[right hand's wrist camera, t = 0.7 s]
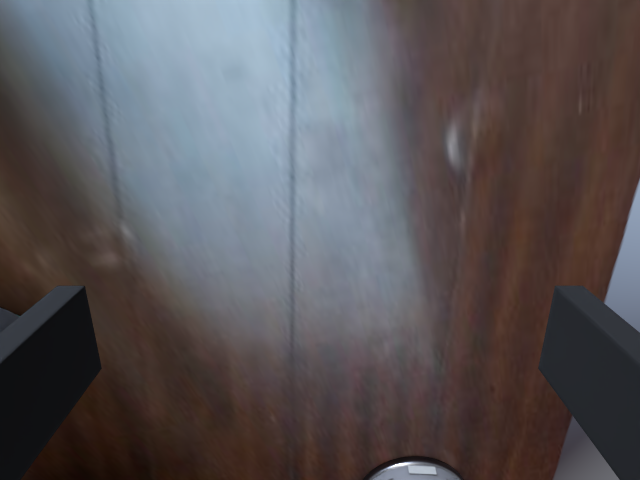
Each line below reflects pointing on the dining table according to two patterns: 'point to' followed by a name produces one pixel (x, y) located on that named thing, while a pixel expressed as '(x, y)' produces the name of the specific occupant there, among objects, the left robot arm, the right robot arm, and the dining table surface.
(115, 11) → the dining table surface
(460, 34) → the dining table surface
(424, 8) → the dining table surface
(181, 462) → the dining table surface
